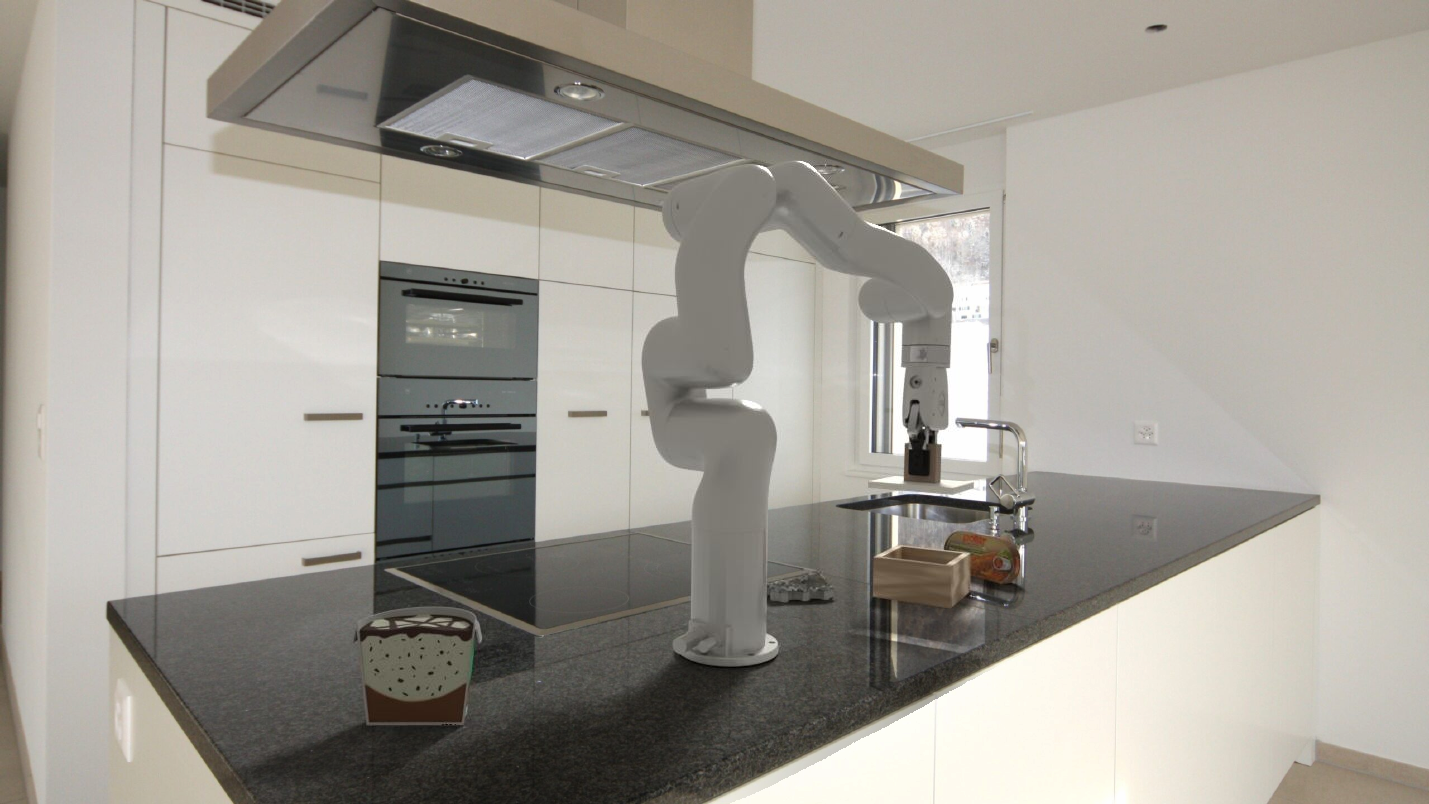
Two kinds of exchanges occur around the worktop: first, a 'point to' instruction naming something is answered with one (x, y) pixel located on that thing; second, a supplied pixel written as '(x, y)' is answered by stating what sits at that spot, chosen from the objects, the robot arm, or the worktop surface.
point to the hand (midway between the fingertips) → (922, 473)
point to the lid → (923, 477)
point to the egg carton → (801, 588)
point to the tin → (987, 555)
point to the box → (922, 575)
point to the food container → (417, 665)
